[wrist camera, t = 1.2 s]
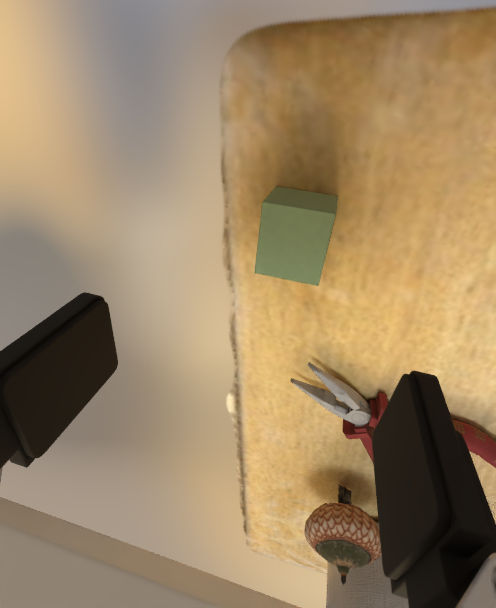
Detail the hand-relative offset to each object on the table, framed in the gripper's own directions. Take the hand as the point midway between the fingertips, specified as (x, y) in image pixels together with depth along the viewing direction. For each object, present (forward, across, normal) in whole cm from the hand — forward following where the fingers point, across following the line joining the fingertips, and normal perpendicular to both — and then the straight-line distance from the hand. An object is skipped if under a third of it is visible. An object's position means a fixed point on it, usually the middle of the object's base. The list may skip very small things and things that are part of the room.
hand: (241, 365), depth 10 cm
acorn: (+17, -12, +32) cm, 39 cm away
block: (+17, 0, +1) cm, 17 cm away
